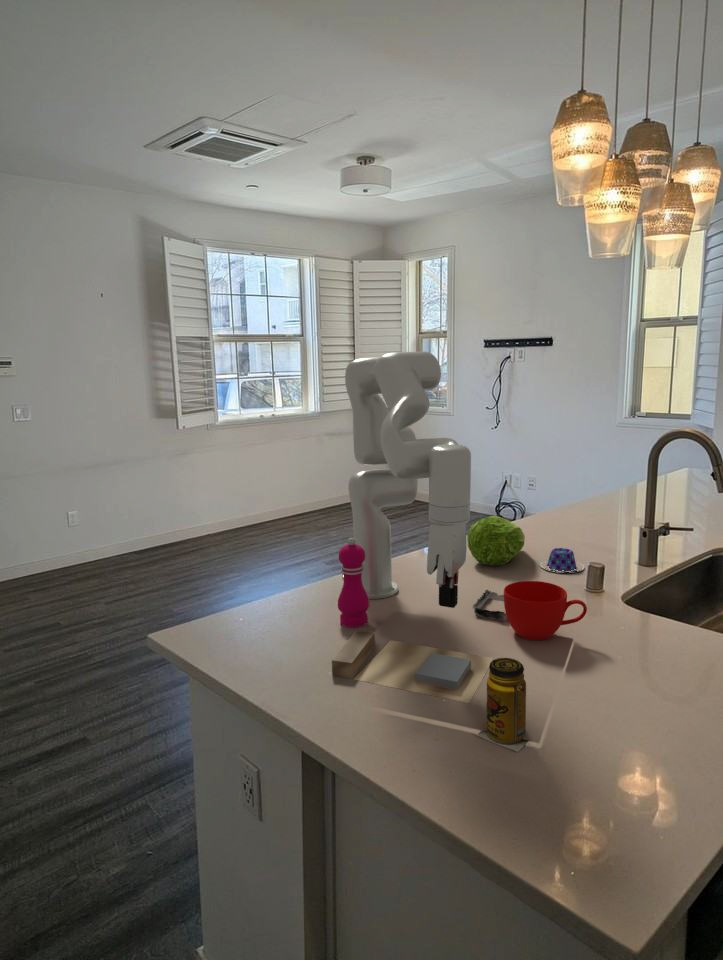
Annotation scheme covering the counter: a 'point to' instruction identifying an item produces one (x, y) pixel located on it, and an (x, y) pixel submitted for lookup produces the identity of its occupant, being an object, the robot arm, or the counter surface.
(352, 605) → the pepper mill
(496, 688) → the condiment
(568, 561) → the blue bucket hat
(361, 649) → the walnut turner
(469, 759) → the counter surface
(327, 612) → the counter surface
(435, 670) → the slate tile
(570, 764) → the counter surface
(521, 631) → the ceramic cup
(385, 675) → the cork mat
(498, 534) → the lettuce
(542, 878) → the counter surface
